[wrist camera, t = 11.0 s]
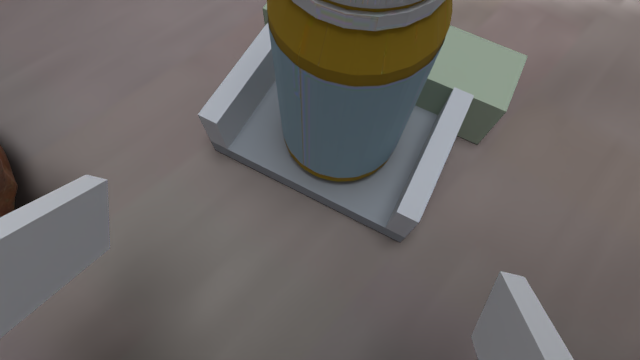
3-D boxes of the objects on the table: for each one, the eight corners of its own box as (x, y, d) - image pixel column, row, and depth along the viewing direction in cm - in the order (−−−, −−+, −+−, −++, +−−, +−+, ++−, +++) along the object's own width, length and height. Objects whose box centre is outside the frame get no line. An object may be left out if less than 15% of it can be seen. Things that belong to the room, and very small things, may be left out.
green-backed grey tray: (497, 94, 27) (529, 53, 23) (431, 258, 22) (457, 241, 18) (298, 11, 29) (296, -39, 25) (202, 143, 25) (182, 107, 21)
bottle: (359, 207, 22) (443, -8, 8) (261, 148, 23) (190, -125, 10) (414, 120, 24) (552, -162, 11) (322, 70, 26) (337, -239, 12)
